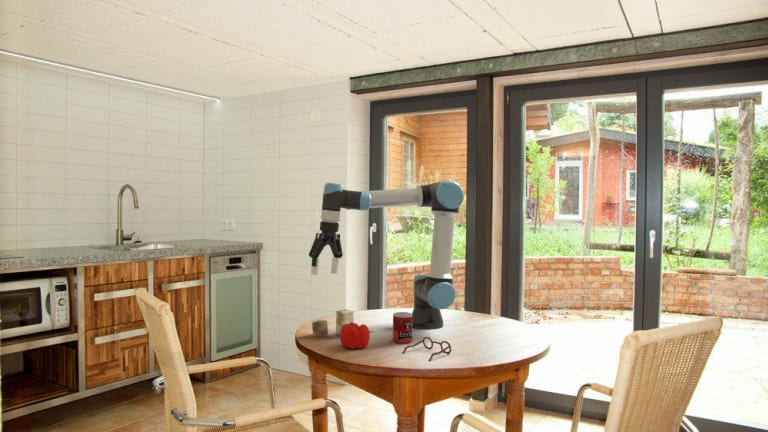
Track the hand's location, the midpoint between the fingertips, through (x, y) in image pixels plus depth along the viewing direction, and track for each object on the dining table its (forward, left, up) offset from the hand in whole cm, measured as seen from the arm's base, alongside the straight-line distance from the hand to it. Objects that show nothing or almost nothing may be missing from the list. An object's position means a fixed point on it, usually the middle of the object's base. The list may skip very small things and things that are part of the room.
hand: (324, 274), depth 207 cm
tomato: (-19, +2, -26) cm, 32 cm away
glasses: (-44, -9, -27) cm, 52 cm away
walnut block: (+3, -2, -26) cm, 26 cm away
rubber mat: (-4, -12, -26) cm, 29 cm away
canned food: (-27, -17, -26) cm, 41 cm away
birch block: (-4, -8, -26) cm, 27 cm away
